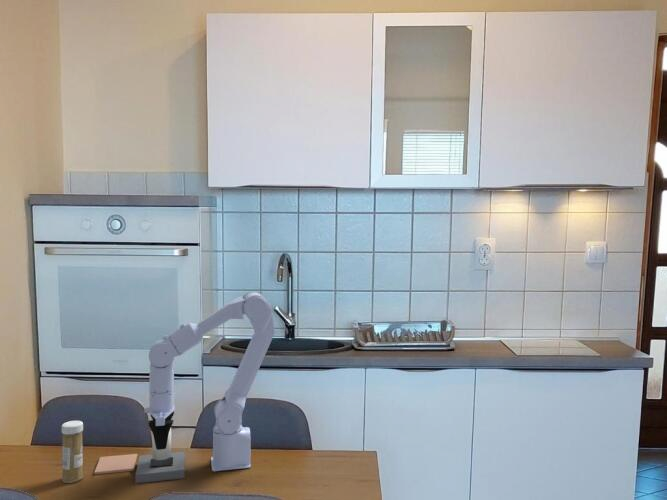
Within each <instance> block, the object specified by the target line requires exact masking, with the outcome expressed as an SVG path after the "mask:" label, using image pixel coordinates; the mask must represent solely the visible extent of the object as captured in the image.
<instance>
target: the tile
mask: <svg viewBox="0 0 667 500" xmlns="http://www.w3.org/2000/svg"><path fill="white" fill-rule="evenodd" d="M136 459H138V453H131V454H121V455H109V456H108V455H107V456H100V457H99V459H98V462H97V465H96V467H95V470H94V471H93V472H94V476H95V475H103V474H105V475H106V474H113V473H123V472H124V473H125V472H133V471H135V468H136V465H137V460H136Z"/></svg>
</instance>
